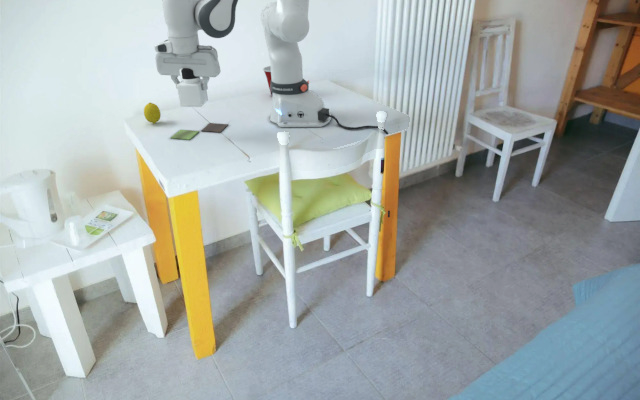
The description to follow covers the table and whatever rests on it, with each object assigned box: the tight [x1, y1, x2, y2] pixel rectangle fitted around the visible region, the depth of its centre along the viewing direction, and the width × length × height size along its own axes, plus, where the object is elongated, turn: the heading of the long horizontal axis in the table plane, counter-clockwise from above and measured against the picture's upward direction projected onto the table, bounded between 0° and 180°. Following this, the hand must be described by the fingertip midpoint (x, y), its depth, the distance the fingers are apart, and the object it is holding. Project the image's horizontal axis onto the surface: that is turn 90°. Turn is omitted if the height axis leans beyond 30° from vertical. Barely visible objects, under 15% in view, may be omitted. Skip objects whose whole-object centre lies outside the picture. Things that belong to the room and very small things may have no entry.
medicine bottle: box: [176, 68, 209, 108], centre depth 148 cm, size 7×7×12 cm
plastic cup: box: [262, 65, 272, 93], centre depth 189 cm, size 11×11×12 cm
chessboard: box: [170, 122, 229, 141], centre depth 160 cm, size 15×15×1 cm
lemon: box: [143, 102, 162, 125], centre depth 166 cm, size 6×6×8 cm
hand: (192, 89), depth 149 cm, fingers closed on medicine bottle, 7 cm apart
